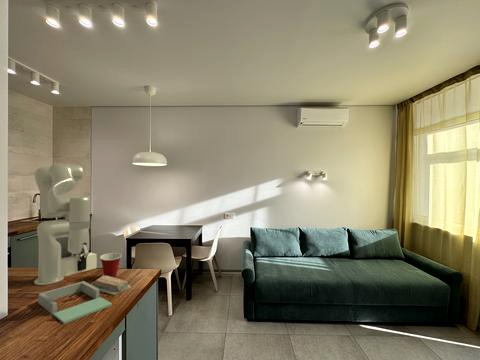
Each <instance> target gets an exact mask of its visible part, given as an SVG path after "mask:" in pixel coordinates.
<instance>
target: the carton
mask: <svg viewBox="0 0 480 360" xmlns="http://www.w3.org/2000/svg"><path fill="white" fill-rule="evenodd" d="M88 253H89V254H88V256H87V260H86V269H85V270H81V271H78V270H77V266H78V261H79V259H78V255H77V256H72V255H71V256H72V257H71V256H68V257H64V258H63V257H61V259H60V274H61V275H64V277H66V276H70V275H75V274H79V273H83V272H87V271H91V270H93V269H94V270H95V269H97V265H98V258H97V257H98V256H97V255H98V254H97V253H93V252H88ZM82 255H83V254H82ZM82 255H81V256H82Z"/></svg>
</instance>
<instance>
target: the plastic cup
mask: <svg viewBox="0 0 480 360" xmlns="http://www.w3.org/2000/svg"><path fill="white" fill-rule="evenodd" d="M122 256H123V254H121V253H118V252H110V253H109V252H108V253H103V254H102V255H100V256H99V259H100V262H101V264H102V265H101V266H102V267H101V268H102V271H103V276H110V277H114V278H117V273H118V271H119V265H120V260H121V258H122Z"/></svg>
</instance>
